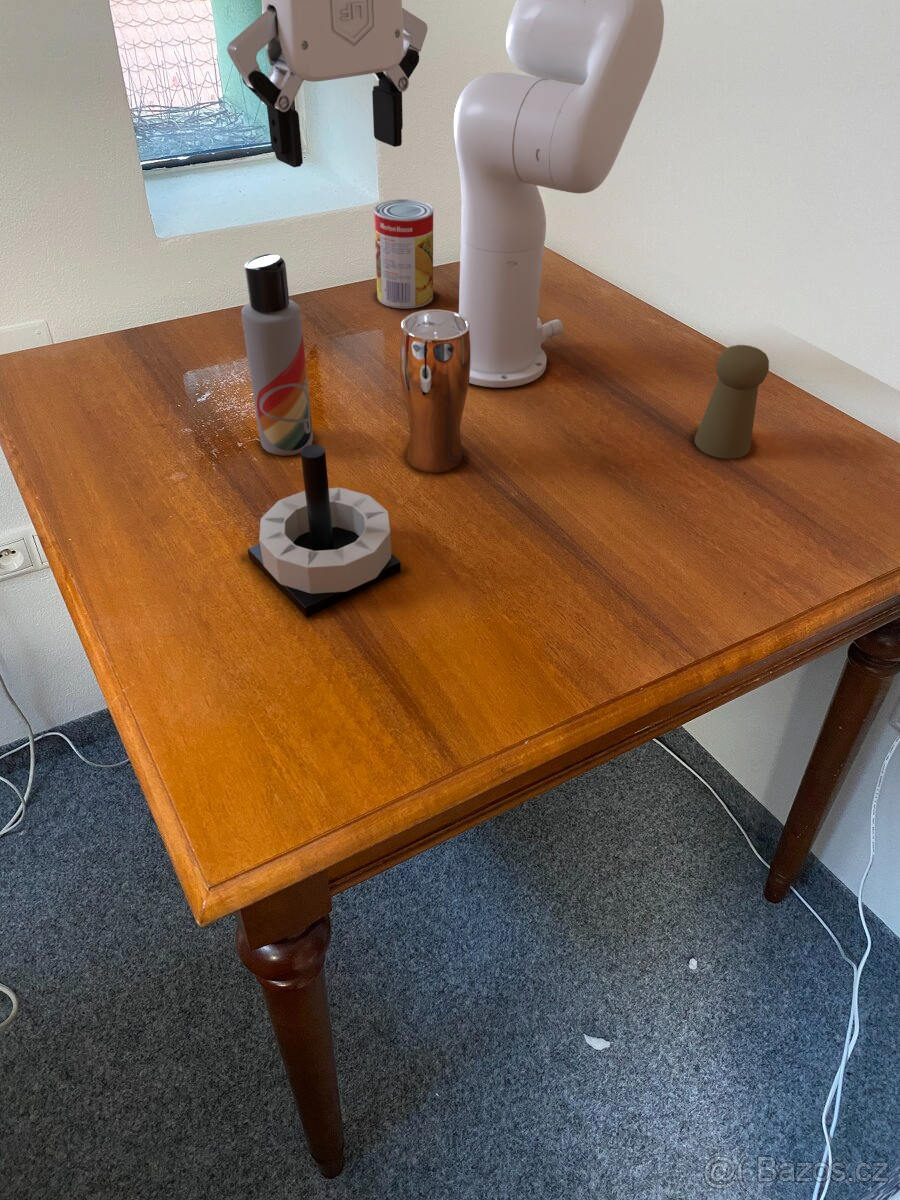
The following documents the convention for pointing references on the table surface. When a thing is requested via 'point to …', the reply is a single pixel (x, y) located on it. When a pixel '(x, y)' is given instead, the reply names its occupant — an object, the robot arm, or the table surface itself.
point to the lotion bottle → (276, 358)
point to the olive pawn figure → (733, 403)
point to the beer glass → (435, 386)
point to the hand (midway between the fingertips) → (340, 152)
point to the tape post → (320, 536)
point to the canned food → (404, 253)
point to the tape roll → (326, 566)
